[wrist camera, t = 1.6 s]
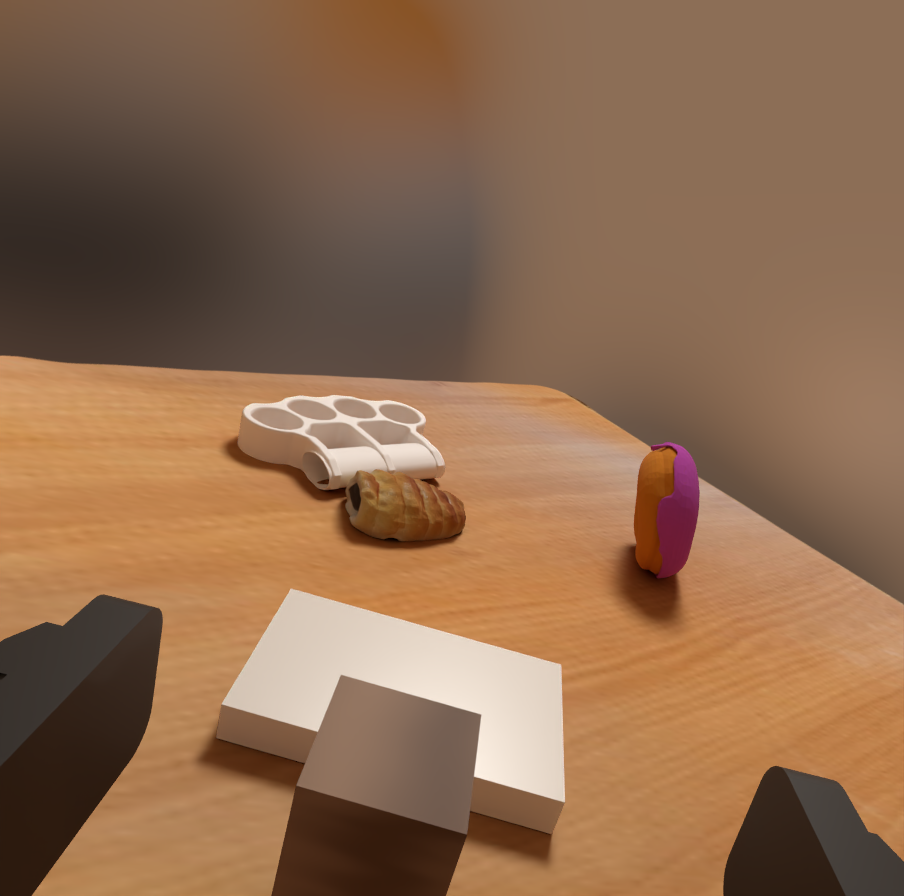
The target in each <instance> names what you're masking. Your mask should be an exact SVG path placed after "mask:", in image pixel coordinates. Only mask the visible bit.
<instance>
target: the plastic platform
mask: <svg viewBox="0 0 904 896" xmlns="http://www.w3.org/2000/svg"><path fill="white" fill-rule="evenodd" d="M341 675H344V676H347V677H351V678H355V679H358V680H362V681H365V682H369V683H372V684H376V685H379V686H383V687H386V688H390V689H393V690H397V691H400V692H404V693H407V694H411V695H414V696H418V697H421V698H425V699H428V700H432V701H436V702H439V703H443V704H446V705H450V706H453V707H457V708H460V709H464V710H467V711H471V712H474V713H478V714H481V722H480V731H479V739H478V747H477V756H476V764H475V772H474V781H473V789H472V797H471V806H470V811H472V812H476V813H479V814H483V815H486V816H490V817H493V818H497V819H500V820H504V821H507V822H511V823H514V824H518V825H521V826H525V827H528V828H531V829H535V830H538V831H542V832H545V833H549V834H552V833H553V830H554V828H555V826H556V823H557V821H558V818H559V816H560V813H561V811H562V808H563V806H564V803H565V789H564V752H563V715H562V678H561V665H560V664H556V663H553V662H549V661H546V660H542V659H539V658H535V657H532V656H528V655H525V654H521V653H517V652H514V651H510V650H507V649H503V648H500V647H496V646H493V645H489V644H486V643H482V642H478V641H475V640H471V639H468V638H464V637H461V636H457V635H454V634H450V633H447V632H443V631H439V630H436V629H432V628H429V627H425V626H422V625H418V624H415V623H411V622H408V621H404V620H400V619H397V618H393V617H390V616H386V615H383V614H379V613H376V612H372V611H369V610H365V609H361V608H358V607H354V606H351V605H347V604H344V603H340V602H337V601H333V600H330V599H326V598H322V597H319V596H315V595H312V594H308V593H305V592H301V591H298V590H294V589H291V590H290V591H289V593H288V595H287V596H286V598H285V600H284V601H283V603H282V605H281V606H280V608H279V610H278V611H277V613H276V615H275V616H274V618H273V620H272V621H271V623H270V625H269V626H268V628H267V630H266V631H265V633H264V635H263V636H262V638H261V639H260V641H259V643H258V644H257V646H256V648H255V649H254V651H253V653H252V654H251V656H250V658H249V659H248V661H247V663H246V664H245V666H244V668H243V669H242V671H241V673H240V674H239V676H238V678H237V679H236V681H235V683H234V684H233V686H232V688H231V689H230V691H229V693H228V694H227V696H226V698H225V699H224V701H223V703H222V704H221V710H220V716H219V722H218V728H217V734H216V738H218V739H221V740H225V741H228V742H232V743H235V744H239V745H242V746H246V747H249V748H253V749H256V750H260V751H263V752H267V753H270V754H274V755H277V756H281V757H284V758H288V759H291V760H295V761H298V762H301V763H306V760H307V758H308V755H309V753H310V750H311V748H312V745H313V743H314V740H315V738H316V735H317V733H318V730H319V728H320V725H321V723H322V720H323V718H324V715H325V713H326V711H327V708H328V706H329V703H330V701H331V698H332V696H333V693H334V691H335V688H336V686H337V683H338V681H339V678H340V676H341Z"/></svg>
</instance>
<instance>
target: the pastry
mask: <svg viewBox="0 0 904 896" xmlns="http://www.w3.org/2000/svg"><path fill="white" fill-rule="evenodd" d="M345 492H346V497H347V503H346V505H345V507H346V510H347V512H348V513H349V515H350V521H351V524H352V525H353V526H354V527H356V528H357V529H358V530H360V531H362V532H364V533H365V534H367V535H368V536H371V537H376V538H380V539H383V540H384V539H386V538H391V537H392V538H396V539H398V540H399V541H415V540H419V541H424V540H434V539H443V538H449V537H451V536H453V535H455V534H459V533H460V532H461V531H462V529H463V528H464V526H465V520H466V516H465V511H464V505H463V503H462V502H461V501H460V500H459V499H458V498H456V497H455V496H454V495H453V494H451V493H449V492H447V491H442V490H438V489H437V488H436V487H435V486H434V485H430V484H428V483H427V482H424V481H421V480H419V479H412V478H411V477H409V476H407V475H406V474H404V473H402V472H396V473H394V474H390V473H388V472H385V471H383V470H380V469H375V470H374V471H373V472H371V473H368V472H365V471H362V470H359V471H357V472H356V474H355V476H354V477H352V478H351V479H350V482H349V483H348V485H347V488H346V490H345Z"/></svg>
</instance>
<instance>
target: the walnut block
mask: <svg viewBox="0 0 904 896" xmlns="http://www.w3.org/2000/svg"><path fill="white" fill-rule="evenodd" d="M480 722H481V714H478V713H474V712H471V711H467V710H464V709H460V708H457V707H453V706H450V705H446V704H443V703H439V702H436V701H432V700H428V699H425V698H421V697H418V696H414V695H411V694H407V693H404V692H400V691H397V690H393V689H390V688H386V687H383V686H379V685H376V684H372V683H369V682H365V681H362V680H358V679H355V678H351V677H347V676H344V675H341V676H340V678H339V681H338V683H337V686H336V688H335V691H334V693H333V696H332V698H331V701H330V703H329V706H328V708H327V711H326V713H325V715H324V718H323V720H322V723H321V725H320V728H319V730H318V733H317V735H316V738H315V740H314V743H313V745H312V748H311V750H310V753H309V755H308V758H307V760H306V763H305V765H304V768H303V770H302V773H301V775H300V777H299V780H298V782H297V785H296V789H295V793H294V798H293V802H292V807H291V811H290V816H289V820H288V824H287V829H286V833H285V838H284V842H283V847H282V851H281V856H280V860H279V865H278V869H277V873H276V878H275V882H274V887H273V891H272V896H446V894H447V891H448V888H449V885H450V882H451V879H452V876H453V874H454V871H455V868H456V865H457V862H458V859H459V856H460V853H461V851H462V848H463V845H464V842H465V839H466V836H467V831H468V823H469V814H470V806H471V797H472V789H473V781H474V772H475V764H476V756H477V747H478V739H479V731H480Z"/></svg>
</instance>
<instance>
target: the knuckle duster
mask: <svg viewBox="0 0 904 896" xmlns="http://www.w3.org/2000/svg"><path fill="white" fill-rule="evenodd" d="M425 423H426V419H425V417H424V415H423V414H422V413H421V412H419V411H418V410H416V409H414V408H412V407H410V406H408V405H405V404H402V403H399V402H395V401H389V400H385V401H368V400H362V399H358V398H354V397H348V396H337V395H331V396H328V397H307V396H295V397H289V398H285V399H284V400H283V401H281V402H277V403H271V404H259V403H253V404H250V405H248V406H246V407H245V408H244V409H243V411H242V416H241V423H240V429H239V436H238V446H239V448H240V449H241V450H242V451H243V452H244V453H246V454H247V455H249V456H251V457H253V458H256V459H258V460H261V461H265V462H270V463H276V464H287V465H290V466H293V467H296V468H299V469H301V470H302V471H303V472H304V473H305V474H306V476H307V478H308V479H309V480H310V481H311V482H312V483H313V484H314V485H315V486H316V487H317V488H319V489H323V490H332V489H339V488H345V487H347V485H348V483H349V482H350V479H351V478H352V477H354V476H355V474H356V472H357V471H359V470H362V471H365V472H368V473H371V472H373V471H374V470H375V469H380V470H383V471H385V472H388V473H390V474H394V473H396V472H402V473H404V474H406V475H407V476H409V477H411V478H412V479H419V480H421V479H433V478H441V477H442V476H443V474H444V472H445V462H444V460H443V458H442V456H441V454H440V452H439V451H438V450H437V449H436V448H435V447H434V446H433V445H432V444H431V443H430V442H429V441H428V440H427V439H426V438H424V437H423V436H422V435H423V431H424V427H425ZM326 479H329V484H318V483H317V482H319V481H321V480H326Z"/></svg>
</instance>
